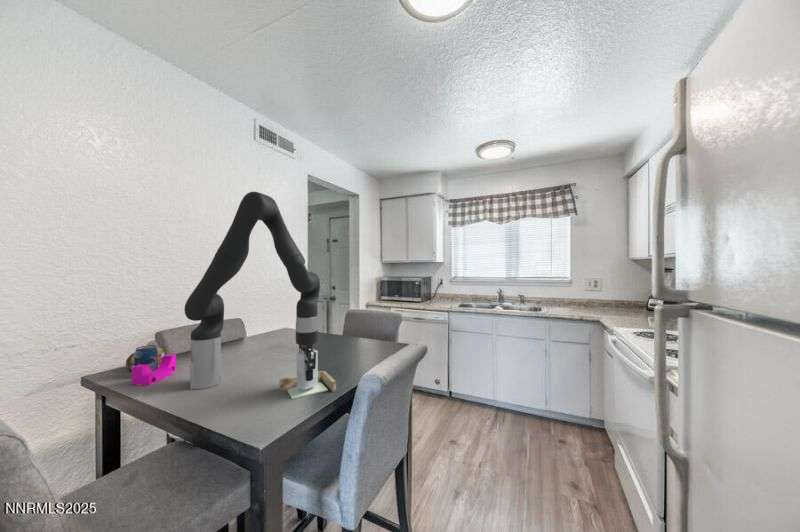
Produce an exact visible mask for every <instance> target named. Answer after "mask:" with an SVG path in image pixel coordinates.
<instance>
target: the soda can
mask: <svg viewBox="0 0 800 532" xmlns="http://www.w3.org/2000/svg"><path fill="white" fill-rule="evenodd" d="M156 347H157V346H156V345H155V344H151V345H150V344H148V345H142V346H138V347H136V349H135V351H134V352H133V353H134V366H137V365H149V368H150V370H151V371H155V370H156V369H157V368H158V367H159V366H158V364H159V363H158V350H157V348H156Z"/></svg>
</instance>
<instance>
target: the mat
mask: <svg viewBox="0 0 800 532" xmlns="http://www.w3.org/2000/svg"><path fill="white" fill-rule="evenodd" d="M286 391H287V393H288V395H289V397H290V398H291V400H296V399H298V398H303V397H308V396H312V395H316V394H319V393H323V392H325V393H326V392H327V391H329V388H328V387H326V385H324V384H323V383H322V381H320V382H318V384H317V385H314V386H312V387H310V388H308V389H306V390H303V389H300V388H297V387H293V388H288V389H286Z"/></svg>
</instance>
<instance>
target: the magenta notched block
mask: <svg viewBox="0 0 800 532" xmlns="http://www.w3.org/2000/svg"><path fill="white" fill-rule="evenodd" d="M175 370H176V371H177V354H166V355H165V356H163V359H162V362H161V363H159V366H158V368H157V369H156V370H155V371H151V370H150V368H149V365H137V366H134V367H132V371H131V380H132V381H131V383H132V384H141V385H140V386H147V385H149V384H151V385H153V384H155V383H157V382H156V381H158V382H160V381H162V380H164V379H166V378H168V377H167V376H169V377H171V376H173V375H172V374H173V372H175ZM170 375H171V376H170ZM165 377H166V378H165ZM163 378H164V379H163ZM161 379H162V380H161ZM159 380H160V381H159ZM154 382H155V383H154ZM152 383H153V384H152ZM132 384H131V385H132ZM149 386H150V385H149Z"/></svg>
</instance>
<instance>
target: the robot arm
mask: <svg viewBox="0 0 800 532" xmlns="http://www.w3.org/2000/svg"><path fill="white" fill-rule="evenodd" d="M258 221H262V223H263V224H264V225H265V226H266V228H267V230H268V231H269V232H270V234H271V236H272V241H273V246H274V249H275V252H276V254H277V256H278V257H279V259H280V261H281V263H282V264H283V265H284V267H285V269H286V272H287V274H288V275H287V276H288V277H289V280H290V283H291V285H292V286H293V288H294V289H295V291H297V292H298V293H300V298H299V300H298V301H297V302H296V316H295V343H296V345H298V353H299V352H302V354H306V357H307V358H308V360H306V359H305V360H304V363H305V364H306V381H312V380H313V369H315V368H316V352H314V350H315V348H314V344H315V345H316V344H317V343H318V342H319V319H318V317H319V316H318V300H319V297H320V296H319V295H320V290H321V281H320V277H319V276H318V274H316V273H315V272H313V271H308V269H307V267H306V260H305V257H304V255H303V254H302V252H301V251H300V249H299V247H298V246H297V244H296V242H295V241H294V238H293V237H292V235H291V233H290V232H289V230H288V227H287V225H286V223H285V221H284V218H283V216H282V214H281V211H280V208H279V206H278V204H277V202H276V200H275V199H274V198H273V197H271V196H269V195H267V194H264V193H261V192H258V191H250V192H247V193H246V194H245V195H244V196H243V198H242V199H241V201H240V203H239V205H238V208H237V210H236V213H235V215H234V219H233V221H232V222H231V225H230V227H229V229H228V230H227V233H226V235H225V236H224V238H223V240H222V242H221V244H220V245H219V247H218V249H217V251H216V252H215V255H214V256H213V258H212V260H211V262H210V264H209V266H208V267H207V269H206V271H205V272H204V275H203V276H202V278H201V280H200V281H199V282H198V284H197V285H196V287H195V289H193V291H192V292H191V294H190V295H189V297H188V298H187V300H186V301H185V305H184V315H185V317H186V318H187V319H188V320H190V321H193V322H194V321H200V323H199V325H197V327H195V328H194V329H193V330H191V332H190V364H189V365H190V366H189V368H190V369H189V375H190V376H189V386H190V388H189V389H190V391H191V390H204V389H210V388H212V387H216V386H218V385H219V384H221V382H222V330H223V328H224V319H225V302H224V299H223V298H222V296H221V295H220V294H219V293H218V291H220V289H221V288H223V286H225V285H226V284H227V283H228V282H229V281H231V280H232V279H233V278H234V277H235V276H236V275H237V274H238V273H239V272H240V270H241V269H242V267H243V266H244V264H245V262H246V260H247V258H248V255H249V250H250V236H251V233H252V231H253V229H254V227H255V226H256V224H257V222H258ZM310 363H311V366H310Z"/></svg>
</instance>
